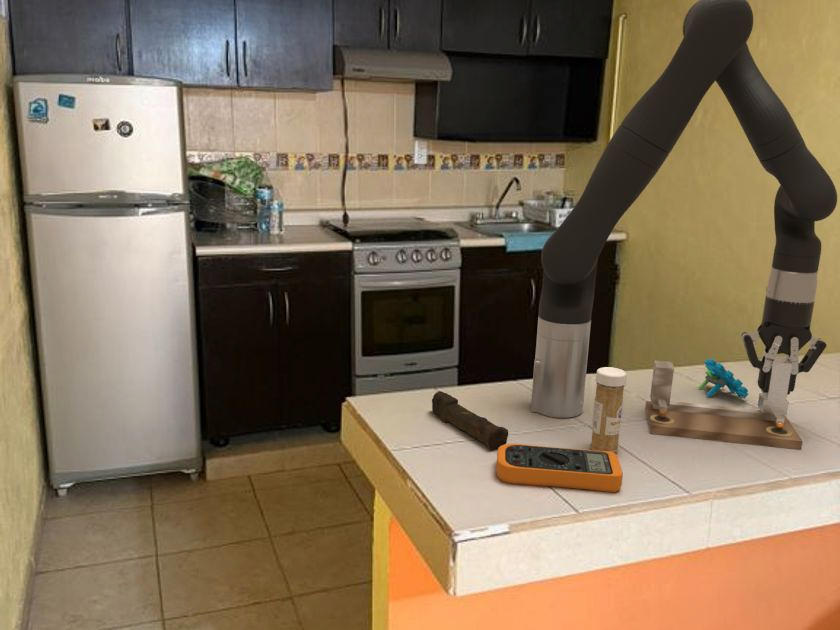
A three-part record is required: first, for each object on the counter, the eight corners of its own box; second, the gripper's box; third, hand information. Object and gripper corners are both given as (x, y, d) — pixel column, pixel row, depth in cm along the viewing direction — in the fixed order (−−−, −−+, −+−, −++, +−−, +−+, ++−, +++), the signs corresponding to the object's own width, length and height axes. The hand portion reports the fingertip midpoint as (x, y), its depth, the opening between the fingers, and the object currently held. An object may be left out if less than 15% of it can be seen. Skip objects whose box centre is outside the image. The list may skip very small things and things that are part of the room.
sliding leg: (767, 428, 131) (776, 370, 128) (756, 410, 139) (765, 355, 136) (792, 430, 130) (802, 372, 128) (780, 412, 138) (789, 357, 136)
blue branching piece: (760, 397, 147) (727, 361, 145) (737, 419, 147) (704, 383, 145) (729, 385, 158) (698, 351, 156) (709, 406, 158) (677, 372, 156)
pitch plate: (650, 433, 133) (656, 379, 130) (645, 408, 144) (651, 358, 142) (801, 449, 128) (810, 394, 126) (783, 422, 140) (791, 371, 137)
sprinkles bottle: (617, 457, 123) (625, 376, 119) (588, 453, 124) (595, 373, 121) (619, 446, 127) (627, 368, 124) (590, 442, 128) (598, 364, 125)
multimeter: (496, 460, 121) (498, 439, 120) (614, 470, 119) (616, 449, 118) (495, 485, 113) (496, 463, 112) (621, 496, 111) (624, 474, 110)
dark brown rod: (509, 449, 125) (510, 422, 124) (488, 454, 123) (490, 426, 122) (445, 410, 141) (446, 386, 140) (426, 413, 139) (427, 389, 138)
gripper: (750, 297, 129) (736, 395, 133) (842, 304, 126) (824, 403, 131) (741, 287, 136) (728, 381, 141) (828, 294, 134) (812, 389, 138)
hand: (775, 391), depth 136 cm, fingers closed on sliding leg, 3 cm apart
